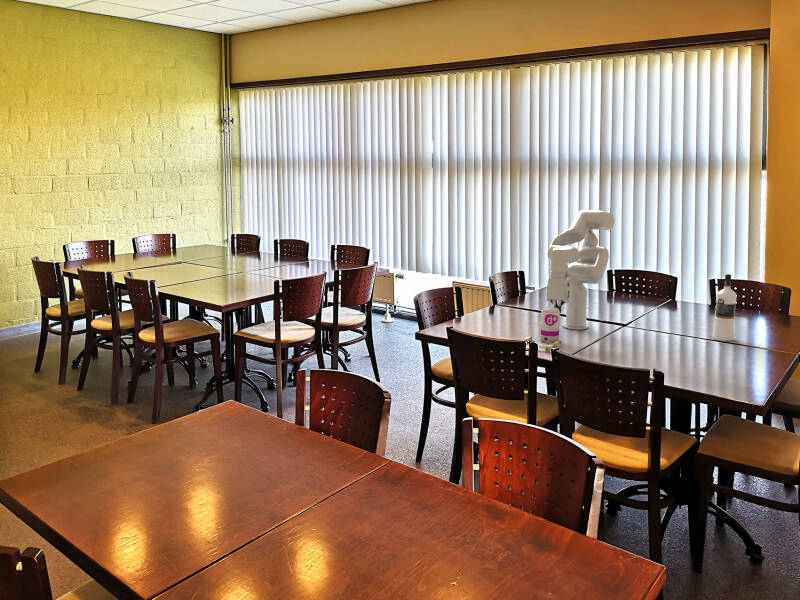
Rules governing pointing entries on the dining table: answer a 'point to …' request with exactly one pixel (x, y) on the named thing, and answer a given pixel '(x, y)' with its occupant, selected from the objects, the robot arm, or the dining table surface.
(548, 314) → the supplement can
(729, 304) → the vodka
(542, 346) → the rail cradle
